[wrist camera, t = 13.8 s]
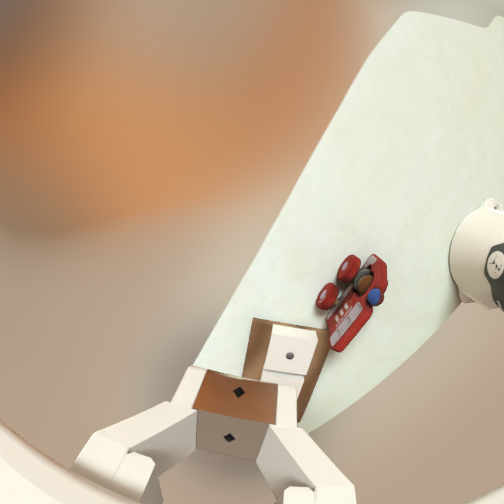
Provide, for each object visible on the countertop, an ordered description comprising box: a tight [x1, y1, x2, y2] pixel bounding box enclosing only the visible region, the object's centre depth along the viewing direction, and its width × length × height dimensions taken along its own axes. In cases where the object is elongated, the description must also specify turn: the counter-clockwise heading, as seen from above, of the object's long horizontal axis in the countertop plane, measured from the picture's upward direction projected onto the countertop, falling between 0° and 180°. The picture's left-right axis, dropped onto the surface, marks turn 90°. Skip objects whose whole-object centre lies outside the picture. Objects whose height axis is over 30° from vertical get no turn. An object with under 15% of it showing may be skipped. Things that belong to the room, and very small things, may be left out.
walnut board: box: [242, 318, 330, 423], centre depth 45 cm, size 13×22×3 cm, turn 171°
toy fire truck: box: [316, 254, 388, 352], centre depth 36 cm, size 7×12×10 cm, turn 148°
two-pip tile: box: [260, 365, 304, 398], centre depth 43 cm, size 7×7×3 cm
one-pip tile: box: [264, 324, 318, 375], centre depth 41 cm, size 7×7×3 cm
